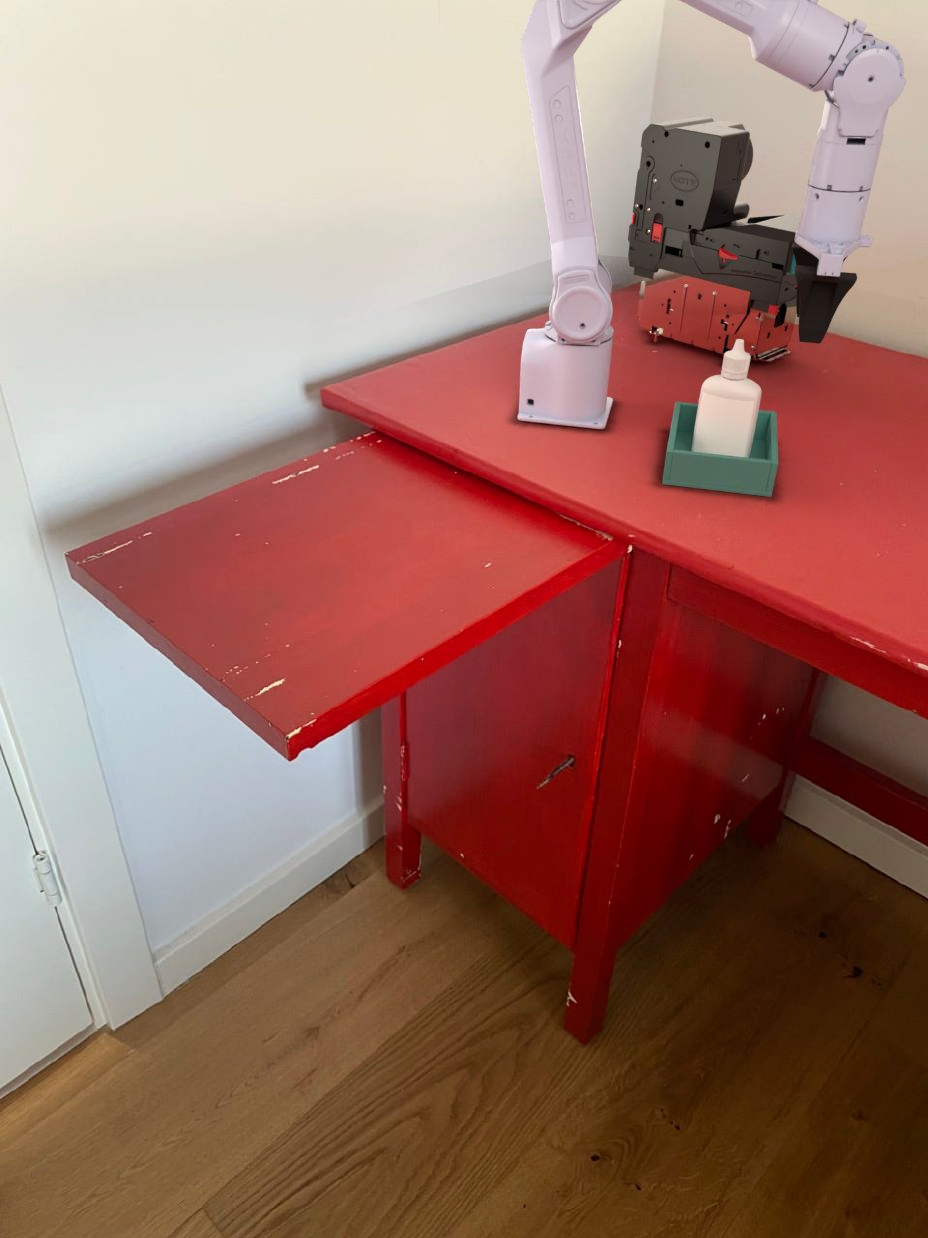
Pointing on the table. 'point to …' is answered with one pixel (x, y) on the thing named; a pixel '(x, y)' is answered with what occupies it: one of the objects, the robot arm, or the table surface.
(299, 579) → the table surface
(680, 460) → the desk tidy
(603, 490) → the table surface
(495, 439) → the table surface
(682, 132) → the bill acceptor
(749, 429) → the eye dropper bottle
